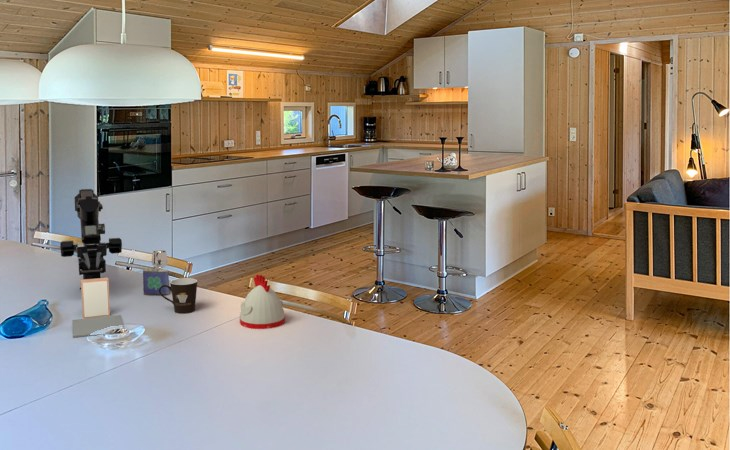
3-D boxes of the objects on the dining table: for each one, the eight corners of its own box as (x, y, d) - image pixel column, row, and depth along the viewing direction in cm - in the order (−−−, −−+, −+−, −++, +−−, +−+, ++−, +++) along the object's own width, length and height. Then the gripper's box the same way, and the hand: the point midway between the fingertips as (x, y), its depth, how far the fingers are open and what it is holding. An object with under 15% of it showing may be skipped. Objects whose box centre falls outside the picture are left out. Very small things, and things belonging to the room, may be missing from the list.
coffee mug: (203, 308, 214) (202, 279, 212) (188, 316, 206) (187, 285, 204) (173, 304, 217) (172, 276, 216) (157, 311, 209) (156, 282, 208)
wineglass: (154, 284, 242) (152, 253, 240) (151, 281, 247) (150, 250, 245) (169, 283, 244) (168, 252, 242) (166, 279, 249) (165, 249, 247)
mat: (72, 321, 198) (72, 319, 198) (120, 316, 204) (120, 314, 204) (73, 337, 184) (72, 336, 184) (124, 331, 190) (124, 330, 190)
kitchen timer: (269, 312, 211) (268, 268, 208) (293, 323, 201) (293, 276, 198) (231, 320, 202) (230, 274, 199) (254, 332, 192) (254, 283, 189)
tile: (82, 316, 203) (80, 279, 201) (109, 313, 207) (108, 277, 205) (82, 318, 201) (80, 281, 199) (110, 316, 204) (108, 279, 202)
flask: (170, 293, 230) (169, 264, 229) (167, 296, 228) (166, 266, 226) (145, 293, 231) (143, 264, 229) (142, 295, 228) (140, 266, 226)
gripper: (58, 217, 207) (60, 257, 199) (120, 214, 215) (124, 253, 207) (60, 236, 216) (62, 276, 208) (119, 233, 223) (123, 271, 215)
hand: (93, 268), depth 209 cm, fingers closed
